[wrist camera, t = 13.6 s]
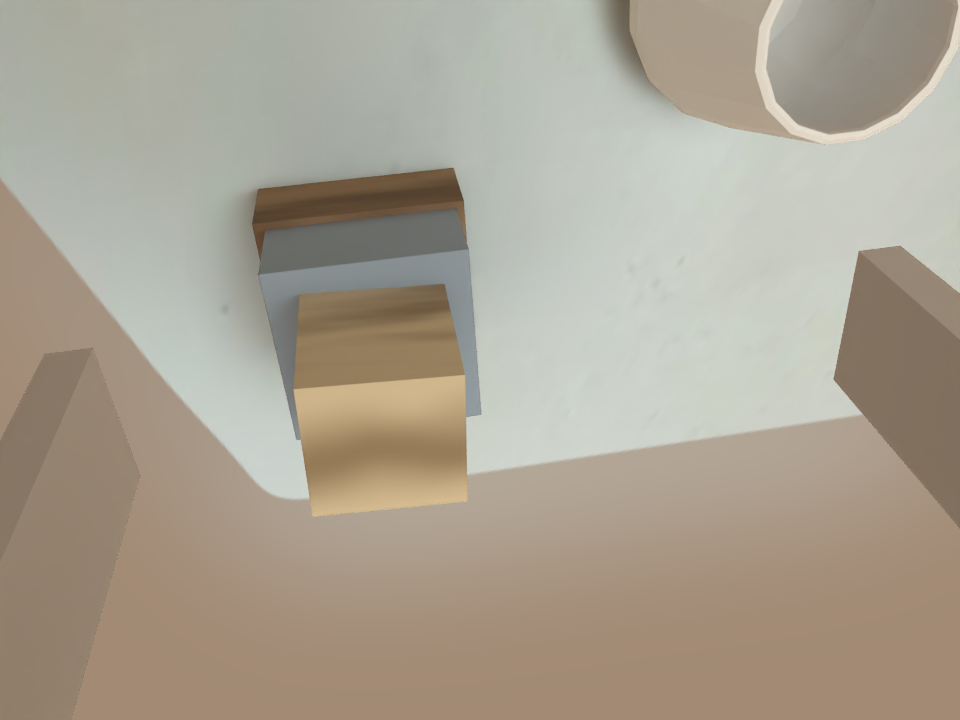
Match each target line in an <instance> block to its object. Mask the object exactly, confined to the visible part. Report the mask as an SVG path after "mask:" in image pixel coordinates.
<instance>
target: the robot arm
mask: <svg viewBox="0 0 960 720" xmlns="http://www.w3.org/2000/svg"><path fill="white" fill-rule="evenodd" d="M834 381H835V382H836V383H837V384H838V385H839V386H840V388H841V389H842V390H843V391H844V392H845V394H846V395H847V396H848V397H849V398H850V399H851V401H852V402H853V403H854V404H855V405H856V406H857V408H858V409H859V410H860V411H861V412H862V414H863V415H864V416H865V417H866V418H867V419H868V421H869V422H870V423H871V424H872V425H873V426H874V428H875V429H876V430H877V431H878V432H879V434H880V435H881V436H882V437H883V438H884V439H885V441H886V442H887V443H888V444H889V445H890V447H891V448H892V449H893V450H894V451H895V452H896V454H897V455H898V456H899V457H900V458H901V459H902V461H903V462H904V463H905V464H906V465H907V467H908V468H909V469H910V470H911V471H912V472H913V474H914V475H915V476H916V477H917V478H918V480H919V481H920V482H921V483H922V484H923V485H924V487H925V488H926V489H927V490H928V491H929V492H930V493H931V495H932V496H933V497H934V498H935V500H936V501H937V502H938V503H939V504H940V505H941V507H942V508H943V509H944V510H945V511H946V513H947V514H948V515H949V516H950V517H951V518H952V519H953V521H954V522H955V523H956V524H957V525H958V527H959V528H960V293H958V292H957V291H956V290H955V289H953V288H952V287H951V286H950V285H948V284H947V283H946V282H945V281H943V280H942V279H941V278H940V277H939V276H937V275H936V274H935V273H934V272H932V271H931V270H930V269H929V268H927V267H926V266H925V265H924V264H922V263H921V262H920V261H919V260H917V259H916V258H915V257H914V256H912V255H911V254H910V253H909V252H907V251H906V250H905V249H904V248H902V247H901V246H895V247H887V248H879V249H871V250H863V251H859V253H858V258H857V263H856V268H855V273H854V278H853V284H852V289H851V294H850V299H849V304H848V309H847V314H846V319H845V324H844V329H843V334H842V339H841V344H840V349H839V355H838V360H837V365H836V370H835V375H834ZM139 478H140V474H139V471H138V468H137V465H136V463H135V460H134V457H133V455H132V452H131V449H130V447H129V444H128V441H127V439H126V436H125V433H124V430H123V428H122V425H121V422H120V420H119V417H118V414H117V412H116V409H115V406H114V404H113V401H112V398H111V395H110V393H109V390H108V387H107V385H106V382H105V379H104V377H103V374H102V371H101V369H100V366H99V363H98V360H97V358H96V355H95V353H94V350H93V348H88V349H81V350H72V351H64V352H56V353H48V354H44V356H43V358H42V360H41V362H40V364H39V366H38V368H37V370H36V372H35V374H34V376H33V378H32V380H31V381H30V383H29V385H28V387H27V389H26V391H25V393H24V395H23V397H22V399H21V401H20V403H19V405H18V407H17V409H16V411H15V413H14V415H13V417H12V419H11V420H10V423H9V424H8V426H7V428H6V430H5V432H4V434H3V436H2V438H1V440H0V720H71V719H72V716H73V712H74V709H75V705H76V702H77V698H78V695H79V691H80V687H81V684H82V680H83V677H84V673H85V670H86V666H87V663H88V659H89V655H90V652H91V648H92V645H93V641H94V638H95V634H96V631H97V627H98V624H99V620H100V616H101V613H102V609H103V606H104V602H105V599H106V595H107V592H108V588H109V585H110V581H111V578H112V574H113V570H114V567H115V563H116V560H117V556H118V553H119V549H120V546H121V542H122V539H123V535H124V531H125V527H126V524H127V521H128V517H129V513H130V510H131V507H132V503H133V500H134V496H135V492H136V489H137V485H138V482H139Z"/></svg>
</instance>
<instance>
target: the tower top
mask: <svg viewBox="0 0 960 720" xmlns="http://www.w3.org/2000/svg"><path fill="white" fill-rule="evenodd" d="M258 275H259V279H260V284H261V288H262V292H263V297H264V301H265V305H266V310H267V314H268V318H269V323H270V327H271V331H272V336H273V340H274V344H275V349H276V353H277V357H278V362H279V366H280V370H281V375H282V379H283V383H284V388H285V392H286V396H287V401H288V405H289V409H290V414H291V418H292V422H293V427H294V431H295V435H296V440H301V436H300V430H299V423H298V416H297V410H296V403H295V396H294V373H295V358H296V342H297V327H298V311H299V295H300V294H308V293H322V292H336V291H350V290H364V289H378V288H392V287H407V286H421V285H435V284H445V288H446V293H447V297H448V301H449V306H450V310H451V315H452V319H453V323H454V328H455V332H456V337H457V341H458V345H459V350H460V354H461V359H462V363H463V367H464V372H465V394H466V417H469V416H476V415H481V402H480V389H479V377H478V364H477V351H476V338H475V325H474V312H473V299H472V286H471V274H470V261H469V249H468V246H467V242H466V239H465V235H464V232H463V229H462V225H461V222H460V219H459V215H458V212H457V209H456V208H451V209H442V210H434V211H425V212H416V213H408V214H399V215H391V216H382V217H373V218H365V219H356V220H347V221H339V222H330V223H322V224H313V225H304V226H296V227H287V228H279V229H270V230H265V235H264V241H263V248H262V254H261V261H260V268H259V274H258Z"/></svg>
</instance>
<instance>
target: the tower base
mask: <svg viewBox="0 0 960 720" xmlns="http://www.w3.org/2000/svg"><path fill="white" fill-rule="evenodd" d="M451 208H456V209H457V212H458V215H459V219H460V222H461V225H462V229H463V232H464V235H465V239H466V226H465V213H464V200H463V197H462V194H461V191H460V188H459V185H458V181H457V178H456V175H455V172H454V169H453V168H448V169H439V170H430V171H420V172H411V173H402V174H393V175H384V176H374V177H365V178H356V179H347V180H338V181H328V182H319V183H310V184H301V185H292V186H283V187H273V188H264V189H259V190H258V196H257V201H256V206H255V212H254V217H253V222H252V226H253V230H254V235H255V239H256V244H257V248H258V253H259V257H260V261H261V254H262V248H263V241H264V235H265V230H270V229H279V228H287V227H296V226H304V225H313V224H322V223H330V222H339V221H347V220H356V219H365V218H373V217H382V216H391V215H399V214H408V213H416V212H425V211H434V210H442V209H451ZM466 242H467V240H466Z"/></svg>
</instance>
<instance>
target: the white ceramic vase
mask: <svg viewBox="0 0 960 720" xmlns="http://www.w3.org/2000/svg"><path fill="white" fill-rule="evenodd" d="M629 29H630V33H631V36H632V39H633V41H634V44H635V46H636V49H637V52H638V54H639V57H640V59H641V62H642V65H643V67H644V70H645V72H646V75H647V78H648V80H649V81H650V82H651V83H652V84H653V85H654V86H655V87H656V88H657V89H658V90H659V91H660V92H661V93H662V94H663V95H664V96H666V97H667V98H668V99H669V100H670V101H671V102H672V103H673V104H674V105H675V106H676V107H677V108H678V109H679V110H680V111H681V112H683V113H685V114H687V115H690V116H694V117H697V118H700V119H703V120H707V121H710V122H713V123H716V124H720V125H723V126H726V127H729V128H734V129H739V130H745V131H751V132H756V133H762V134H768V135H773V136H779V137H785V138H790V139H796V140H802V141H807V142H813V143H819V144H824V145H825V144H833V143H841V142H849V141H857V140H864V139H866V138H868V137H870V136H872V135H874V134H876V133H878V132H880V131H882V130H884V129H885V128H887V127H889V126H891V125H893V124H895V123H897V122H899V121H901V120H902V119H904V118H905V117H906V116H907V115H908V114H909V113H910V112H911V111H912V110H913V109H914V108H915V107H916V106H917V105H918V104H919V103H920V102H921V101H922V100H923V99H924V98H925V97H926V96H928V95H929V94H930V93H931V92H932V91H933V90H934V89H935V87H936V86H937V84H938V82H939V81H940V79H941V77H942V75H943V74H944V72H945V70H946V69H947V67H948V65H949V63H950V62H951V60H952V58H953V56H954V55H955V53H956V51H957V50H958V48H959V44H960V0H630V23H629Z"/></svg>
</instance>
